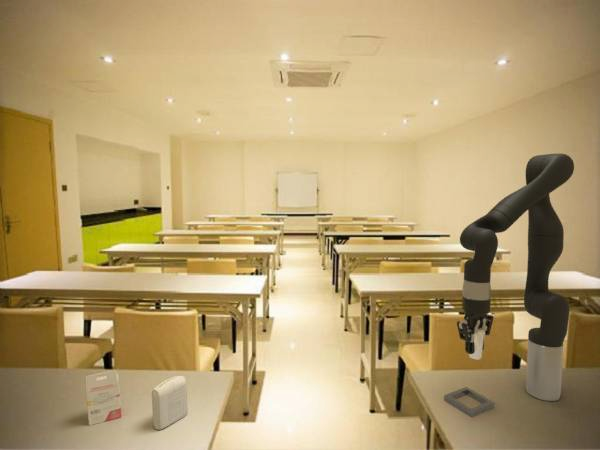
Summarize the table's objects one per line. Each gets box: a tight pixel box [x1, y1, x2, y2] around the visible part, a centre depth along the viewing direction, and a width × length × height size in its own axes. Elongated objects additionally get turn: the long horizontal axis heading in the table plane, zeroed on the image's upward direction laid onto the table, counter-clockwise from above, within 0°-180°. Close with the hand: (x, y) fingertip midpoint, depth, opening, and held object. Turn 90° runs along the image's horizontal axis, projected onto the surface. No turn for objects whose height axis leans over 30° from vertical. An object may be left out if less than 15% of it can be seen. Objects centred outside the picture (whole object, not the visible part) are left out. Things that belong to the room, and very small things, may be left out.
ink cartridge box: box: [84, 369, 122, 426], centre depth 110 cm, size 9×5×15 cm, turn 115°
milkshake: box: [468, 328, 485, 361], centre depth 112 cm, size 4×5×10 cm
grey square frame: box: [443, 386, 495, 418], centre depth 115 cm, size 10×10×2 cm
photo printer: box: [151, 375, 189, 431], centre depth 109 cm, size 10×4×12 cm, turn 144°
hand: (474, 351), depth 112 cm, fingers closed on milkshake, 4 cm apart
